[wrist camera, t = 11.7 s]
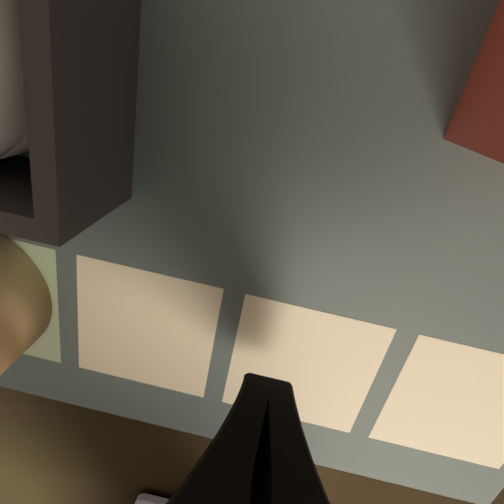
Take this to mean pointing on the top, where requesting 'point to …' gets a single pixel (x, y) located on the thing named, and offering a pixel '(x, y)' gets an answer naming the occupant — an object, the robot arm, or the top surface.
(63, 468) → the top surface
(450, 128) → the die
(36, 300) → the pawn
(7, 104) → the dome
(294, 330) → the board
